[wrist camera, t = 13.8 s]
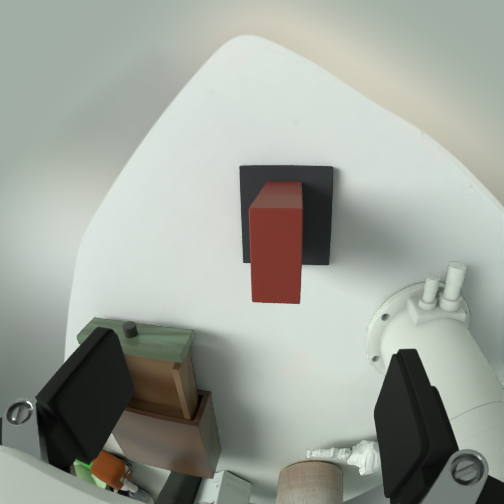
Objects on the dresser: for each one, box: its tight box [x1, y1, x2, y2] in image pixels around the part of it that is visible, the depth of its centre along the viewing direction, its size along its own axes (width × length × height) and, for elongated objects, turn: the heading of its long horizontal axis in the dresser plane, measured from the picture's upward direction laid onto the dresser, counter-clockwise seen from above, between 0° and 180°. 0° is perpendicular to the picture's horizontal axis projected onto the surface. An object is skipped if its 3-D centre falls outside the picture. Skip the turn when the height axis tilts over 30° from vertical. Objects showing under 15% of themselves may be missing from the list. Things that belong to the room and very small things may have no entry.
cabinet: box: [112, 390, 221, 479], centre depth 39 cm, size 15×15×6 cm
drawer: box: [76, 317, 200, 421], centre depth 35 cm, size 15×13×4 cm
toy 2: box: [90, 451, 138, 493], centre depth 50 cm, size 9×7×15 cm
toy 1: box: [74, 462, 114, 492], centre depth 51 cm, size 20×19×15 cm
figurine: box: [306, 440, 381, 475], centre depth 36 cm, size 7×15×7 cm, turn 96°
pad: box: [239, 165, 333, 265], centre depth 28 cm, size 9×8×1 cm
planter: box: [276, 461, 343, 504], centre depth 39 cm, size 11×11×10 cm
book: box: [249, 181, 303, 304], centre depth 23 cm, size 6×3×10 cm, turn 2°
